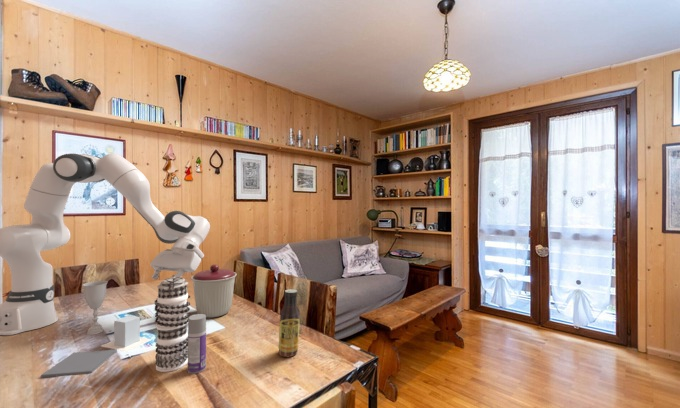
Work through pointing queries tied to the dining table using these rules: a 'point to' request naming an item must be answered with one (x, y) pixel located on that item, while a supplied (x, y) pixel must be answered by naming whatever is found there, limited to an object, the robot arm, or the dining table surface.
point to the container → (196, 343)
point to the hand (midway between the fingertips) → (163, 279)
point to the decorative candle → (172, 324)
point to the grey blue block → (126, 331)
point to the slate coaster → (79, 363)
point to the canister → (213, 291)
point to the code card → (128, 348)
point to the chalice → (95, 301)
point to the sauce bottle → (289, 325)
